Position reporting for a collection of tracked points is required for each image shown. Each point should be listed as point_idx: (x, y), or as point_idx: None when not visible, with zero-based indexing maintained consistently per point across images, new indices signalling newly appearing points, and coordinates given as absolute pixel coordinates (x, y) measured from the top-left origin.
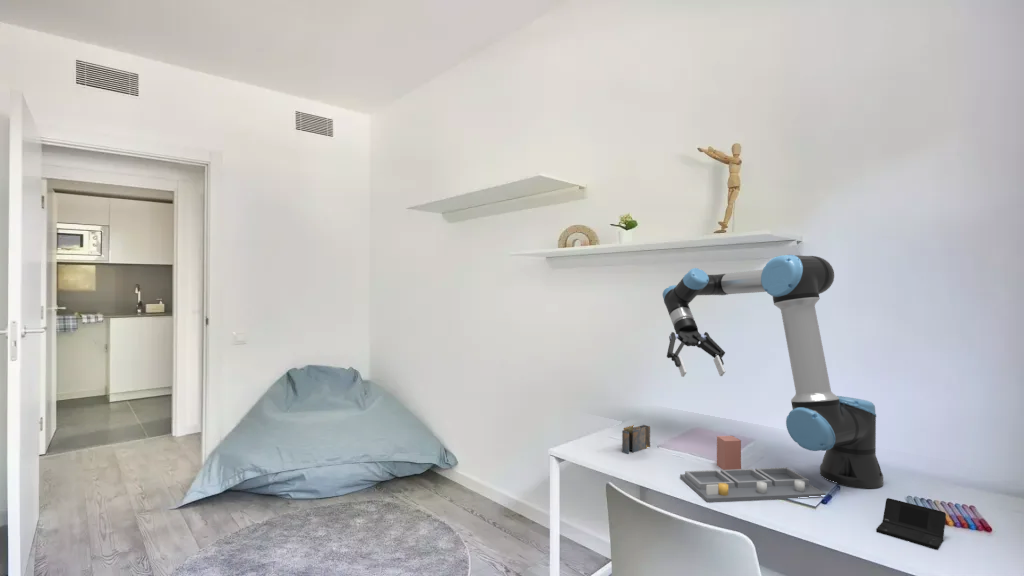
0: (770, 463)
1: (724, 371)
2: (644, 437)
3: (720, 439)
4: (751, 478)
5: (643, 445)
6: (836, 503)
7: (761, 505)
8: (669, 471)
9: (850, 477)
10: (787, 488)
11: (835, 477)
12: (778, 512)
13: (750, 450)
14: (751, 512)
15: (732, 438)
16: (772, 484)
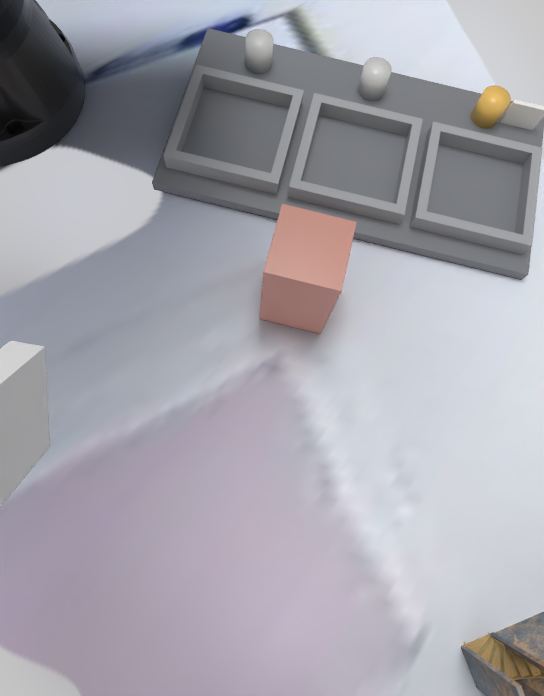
0: (110, 282)
1: (23, 345)
2: (529, 649)
3: (347, 260)
4: (321, 169)
5: (515, 632)
6: (217, 8)
7: (412, 61)
8: (526, 342)
9: (60, 31)
10: (279, 82)
11: (79, 70)
12: (401, 23)
13: None
14: (465, 43)
15: (295, 239)
16: (299, 113)
